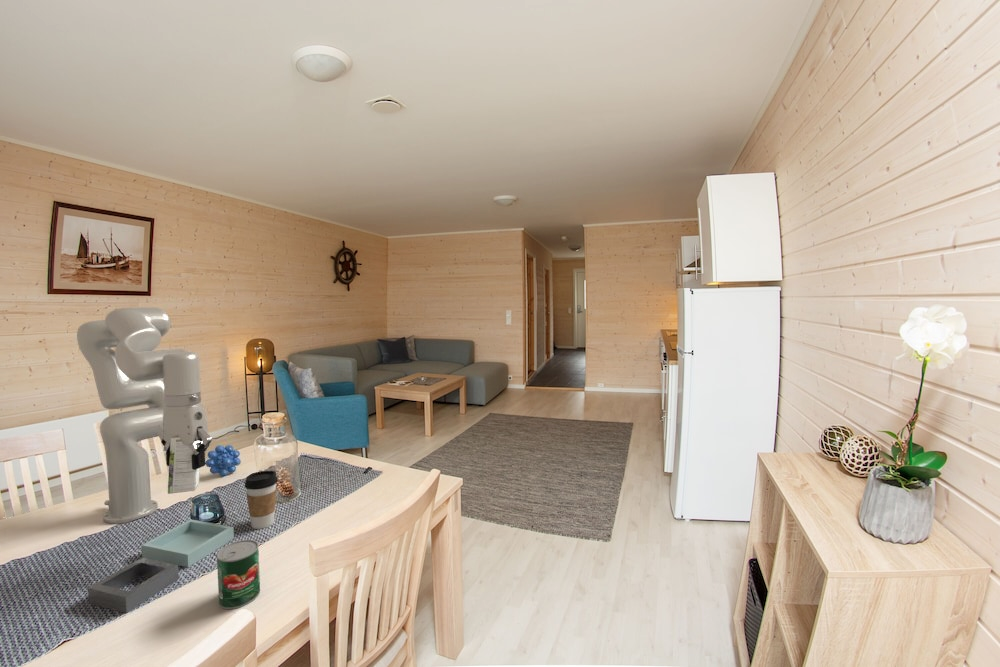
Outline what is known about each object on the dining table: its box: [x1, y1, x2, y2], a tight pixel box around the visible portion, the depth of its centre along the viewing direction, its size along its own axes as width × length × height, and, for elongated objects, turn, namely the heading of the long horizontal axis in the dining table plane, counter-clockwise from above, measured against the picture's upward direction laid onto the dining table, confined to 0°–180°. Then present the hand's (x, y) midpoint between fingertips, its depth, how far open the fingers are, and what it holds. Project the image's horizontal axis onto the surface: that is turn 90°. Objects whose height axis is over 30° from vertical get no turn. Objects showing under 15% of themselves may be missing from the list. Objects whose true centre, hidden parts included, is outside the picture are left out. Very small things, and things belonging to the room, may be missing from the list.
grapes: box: [205, 444, 242, 477], centre depth 154 cm, size 12×7×12 cm, turn 146°
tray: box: [141, 519, 235, 568], centre depth 111 cm, size 15×13×3 cm
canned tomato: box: [216, 539, 261, 610], centre depth 92 cm, size 8×8×11 cm
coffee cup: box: [244, 470, 278, 530], centre depth 122 cm, size 8×8×15 cm
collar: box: [87, 557, 179, 614], centre depth 94 cm, size 11×11×4 cm
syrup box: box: [167, 436, 201, 495], centre depth 109 cm, size 6×6×14 cm
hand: (186, 465), depth 109 cm, fingers closed on syrup box, 7 cm apart
